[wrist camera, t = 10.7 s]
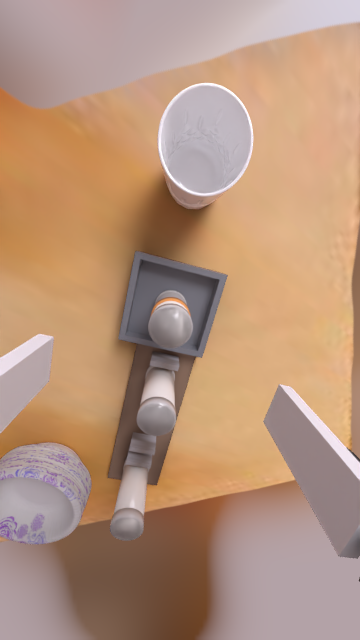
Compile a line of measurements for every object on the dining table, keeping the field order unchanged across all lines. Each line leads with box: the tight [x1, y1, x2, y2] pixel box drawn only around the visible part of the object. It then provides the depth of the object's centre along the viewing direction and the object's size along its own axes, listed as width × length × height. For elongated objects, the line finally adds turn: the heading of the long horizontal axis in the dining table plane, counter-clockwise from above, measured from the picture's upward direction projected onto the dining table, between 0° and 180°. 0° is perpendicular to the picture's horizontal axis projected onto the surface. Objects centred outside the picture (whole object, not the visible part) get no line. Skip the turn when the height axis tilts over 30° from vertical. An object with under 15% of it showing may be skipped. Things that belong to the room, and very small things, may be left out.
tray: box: [118, 251, 228, 358], centre depth 31 cm, size 12×12×2 cm
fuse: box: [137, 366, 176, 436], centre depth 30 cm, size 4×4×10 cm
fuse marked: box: [148, 290, 193, 348], centre depth 27 cm, size 4×4×10 cm
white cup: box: [158, 83, 253, 209], centre depth 23 cm, size 8×8×10 cm
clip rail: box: [108, 344, 196, 485], centre depth 36 cm, size 9×27×4 cm, turn 165°
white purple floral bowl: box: [0, 442, 91, 544], centre depth 36 cm, size 15×15×8 cm
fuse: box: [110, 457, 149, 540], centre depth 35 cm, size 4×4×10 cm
